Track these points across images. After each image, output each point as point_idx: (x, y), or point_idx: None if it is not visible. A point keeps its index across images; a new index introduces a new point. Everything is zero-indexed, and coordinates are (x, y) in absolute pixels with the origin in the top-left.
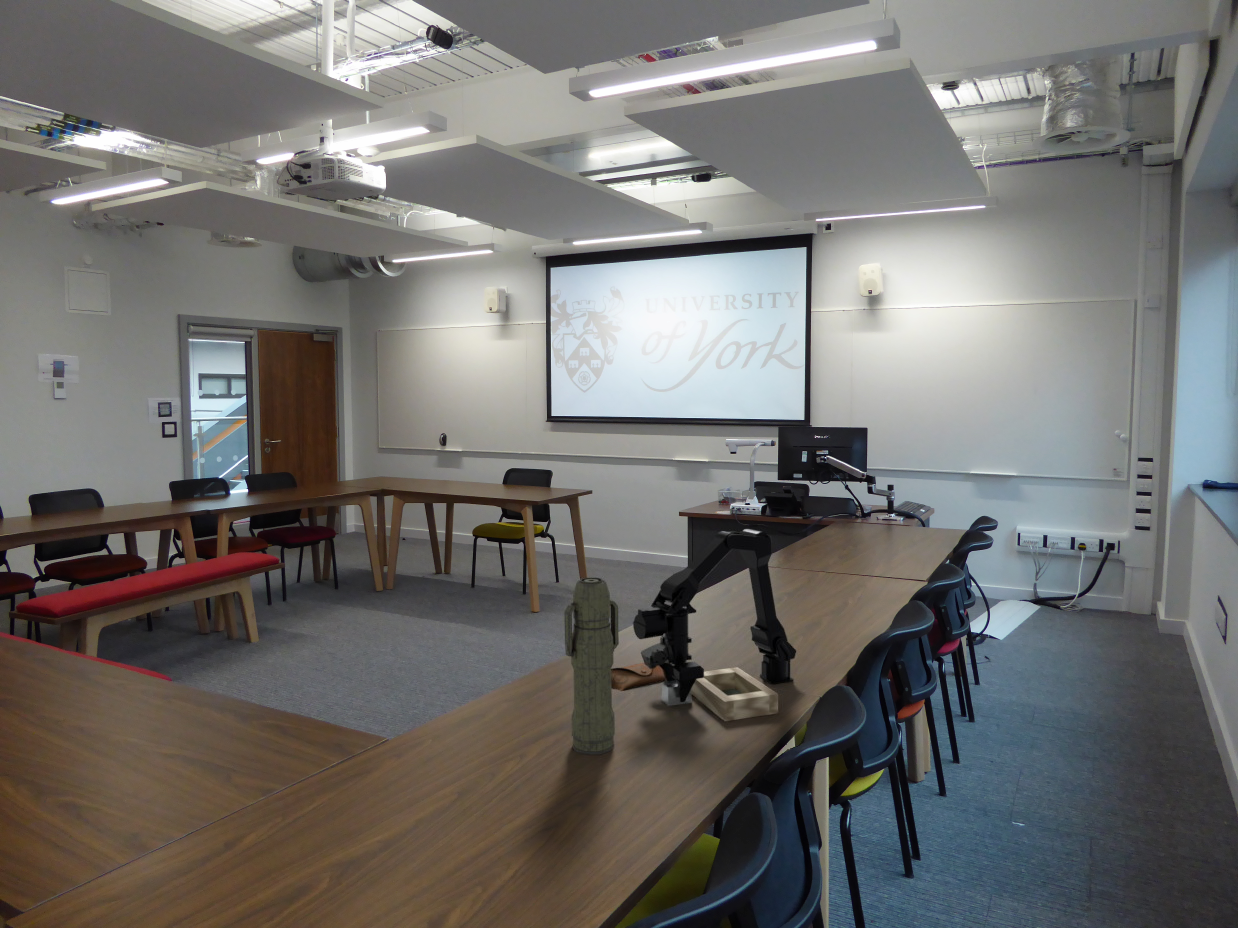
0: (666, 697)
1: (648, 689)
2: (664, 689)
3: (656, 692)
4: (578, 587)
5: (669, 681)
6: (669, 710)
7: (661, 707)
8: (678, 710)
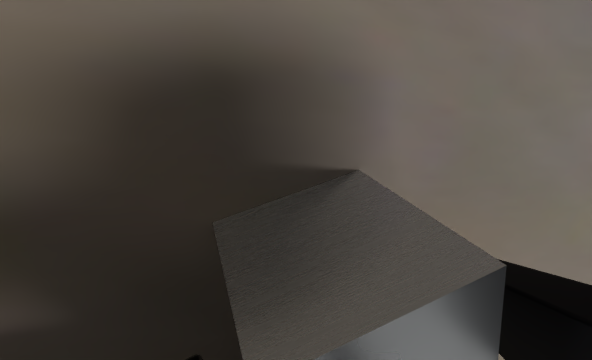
0: (271, 240)
1: (574, 77)
2: (364, 259)
3: (506, 135)
4: None
5: (487, 353)
6: (69, 235)
7: (163, 155)
8: (78, 314)
